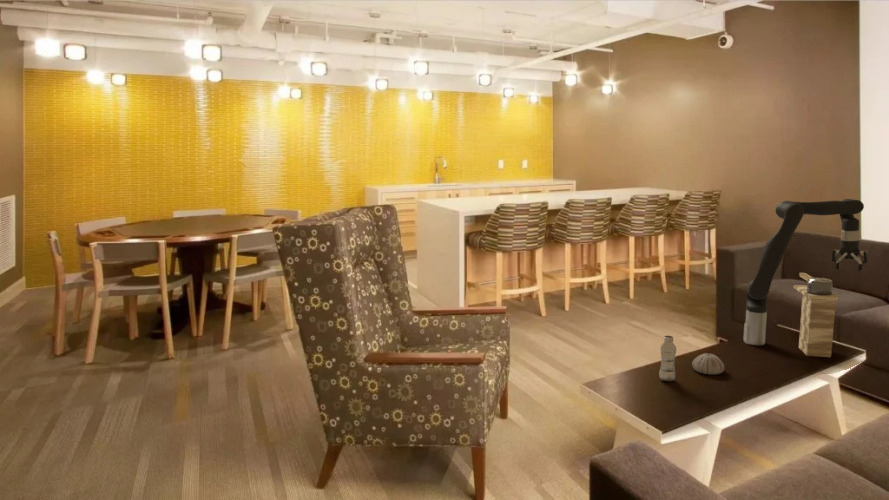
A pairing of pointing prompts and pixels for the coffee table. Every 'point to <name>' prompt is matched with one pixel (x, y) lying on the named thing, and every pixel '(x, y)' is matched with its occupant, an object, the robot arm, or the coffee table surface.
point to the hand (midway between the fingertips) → (849, 270)
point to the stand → (816, 323)
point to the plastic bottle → (667, 359)
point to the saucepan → (817, 285)
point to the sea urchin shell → (708, 364)
